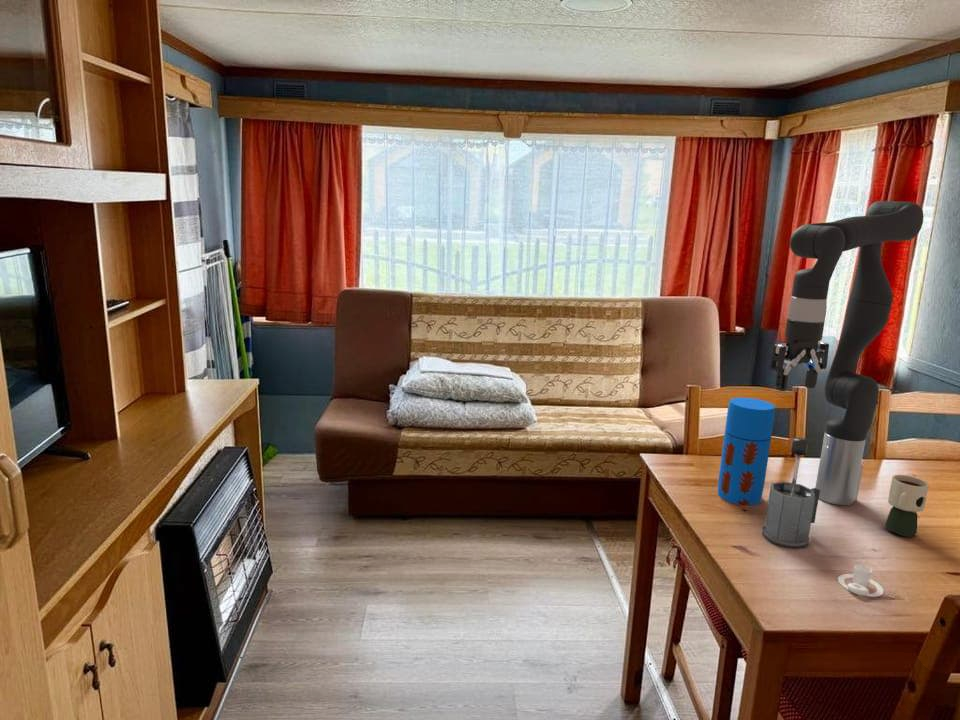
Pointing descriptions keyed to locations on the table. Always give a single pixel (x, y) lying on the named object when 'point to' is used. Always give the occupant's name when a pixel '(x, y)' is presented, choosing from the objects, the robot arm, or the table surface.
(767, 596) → the table surface
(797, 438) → the plunger
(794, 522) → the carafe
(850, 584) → the teacup and saucer
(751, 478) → the thermos
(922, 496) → the character mug
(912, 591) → the table surface
